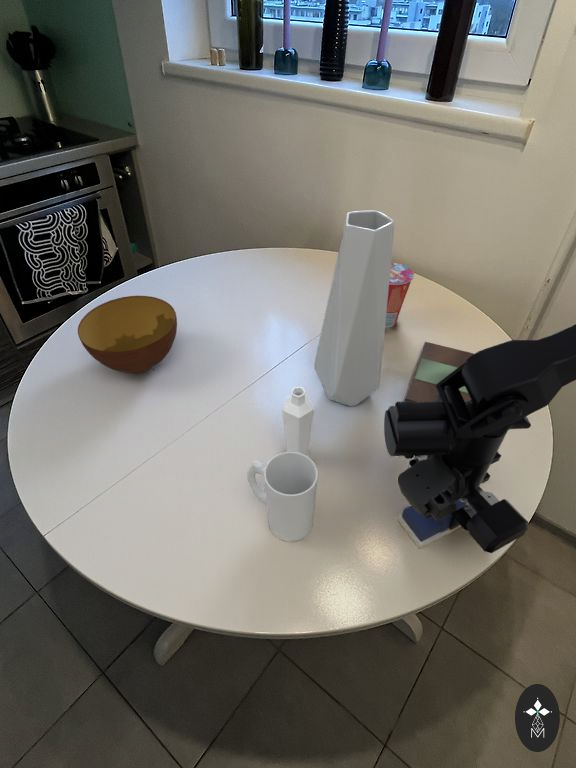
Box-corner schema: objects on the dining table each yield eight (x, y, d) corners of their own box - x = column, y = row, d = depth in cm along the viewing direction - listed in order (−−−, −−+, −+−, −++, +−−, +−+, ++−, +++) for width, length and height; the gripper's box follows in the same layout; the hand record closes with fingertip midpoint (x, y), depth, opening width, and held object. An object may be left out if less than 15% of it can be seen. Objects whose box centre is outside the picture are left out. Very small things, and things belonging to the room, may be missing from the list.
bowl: (81, 394, 84) (63, 352, 77) (107, 336, 97) (94, 295, 90) (176, 392, 84) (166, 351, 77) (190, 335, 97) (182, 295, 90)
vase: (394, 401, 82) (434, 227, 60) (340, 423, 79) (360, 246, 56) (357, 362, 90) (380, 195, 68) (306, 380, 86) (312, 210, 64)
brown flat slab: (494, 363, 90) (496, 358, 89) (484, 426, 78) (486, 421, 77) (423, 345, 94) (425, 340, 93) (403, 402, 82) (405, 397, 81)
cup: (380, 305, 105) (387, 258, 97) (411, 320, 101) (422, 272, 92) (355, 322, 100) (360, 274, 92) (386, 339, 96) (395, 290, 88)
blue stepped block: (456, 490, 69) (465, 471, 65) (480, 516, 65) (490, 498, 62) (397, 519, 65) (403, 501, 62) (419, 549, 62) (426, 531, 59)
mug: (322, 513, 66) (326, 463, 58) (301, 552, 62) (303, 504, 53) (262, 485, 69) (259, 435, 61) (239, 520, 65) (231, 471, 57)
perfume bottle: (316, 453, 74) (321, 387, 64) (302, 472, 71) (305, 406, 61) (292, 441, 76) (293, 375, 65) (278, 459, 73) (276, 394, 63)
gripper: (370, 414, 57) (357, 485, 68) (475, 538, 45) (439, 600, 56) (439, 387, 61) (417, 458, 72) (554, 495, 49) (506, 561, 59)
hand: (440, 513), depth 65 cm, fingers closed on blue stepped block, 4 cm apart
